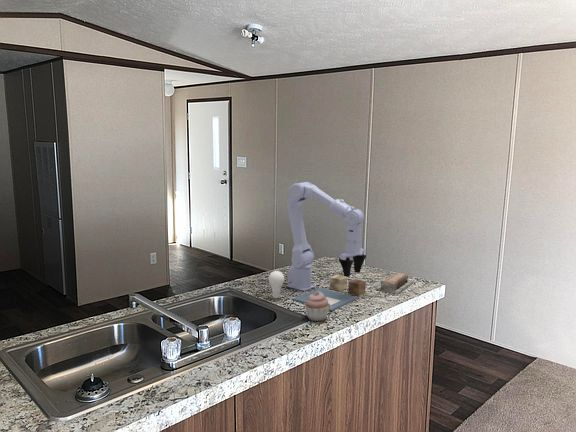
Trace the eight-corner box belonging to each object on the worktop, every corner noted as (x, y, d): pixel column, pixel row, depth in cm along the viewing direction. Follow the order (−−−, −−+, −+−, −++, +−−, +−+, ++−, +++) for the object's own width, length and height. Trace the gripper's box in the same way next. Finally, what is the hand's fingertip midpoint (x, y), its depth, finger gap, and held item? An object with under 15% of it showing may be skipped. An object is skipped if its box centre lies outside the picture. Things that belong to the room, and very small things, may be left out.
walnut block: (348, 293, 194) (348, 281, 194) (354, 290, 198) (355, 278, 197) (358, 296, 191) (359, 284, 190) (365, 293, 195) (365, 281, 194)
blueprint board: (293, 300, 185) (293, 298, 185) (320, 289, 199) (320, 287, 199) (331, 311, 174) (331, 309, 174) (357, 298, 188) (357, 297, 187)
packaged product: (399, 283, 193) (376, 279, 199) (398, 295, 194) (375, 290, 199) (413, 273, 208) (392, 270, 214) (413, 284, 209) (391, 280, 214)
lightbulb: (274, 294, 191) (275, 268, 189) (287, 298, 187) (287, 270, 186) (265, 298, 186) (265, 271, 184) (277, 302, 182) (278, 274, 181)
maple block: (329, 288, 200) (330, 277, 199) (336, 286, 204) (337, 274, 203) (339, 291, 197) (340, 279, 196) (346, 288, 201) (347, 277, 200)
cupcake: (298, 318, 167) (298, 290, 165) (314, 311, 174) (315, 284, 172) (319, 325, 161) (320, 297, 159) (335, 318, 167) (336, 290, 166)
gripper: (352, 245, 178) (350, 280, 180) (372, 239, 189) (370, 272, 191) (336, 242, 182) (335, 276, 185) (356, 236, 193) (355, 269, 196)
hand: (351, 274), depth 188 cm, fingers open, 7 cm apart
